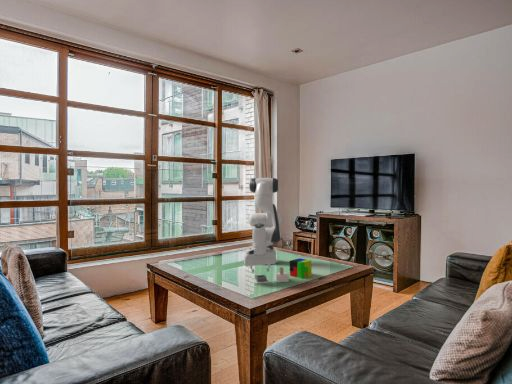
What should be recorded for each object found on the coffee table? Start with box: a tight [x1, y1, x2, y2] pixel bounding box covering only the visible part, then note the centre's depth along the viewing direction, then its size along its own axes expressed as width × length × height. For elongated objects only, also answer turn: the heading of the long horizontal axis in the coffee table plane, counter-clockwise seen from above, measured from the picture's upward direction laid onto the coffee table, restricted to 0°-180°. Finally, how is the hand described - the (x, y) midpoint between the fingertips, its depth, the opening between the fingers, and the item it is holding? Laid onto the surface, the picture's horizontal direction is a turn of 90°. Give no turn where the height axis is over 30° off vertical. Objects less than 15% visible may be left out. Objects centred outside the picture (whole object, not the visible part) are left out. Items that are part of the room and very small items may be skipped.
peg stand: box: [274, 266, 290, 283], centre depth 209 cm, size 7×7×8 cm
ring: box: [254, 274, 268, 282], centre depth 208 cm, size 6×6×2 cm
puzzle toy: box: [289, 257, 312, 279], centre depth 219 cm, size 10×10×10 cm
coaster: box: [251, 277, 271, 285], centre depth 208 cm, size 10×10×1 cm
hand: (260, 271), depth 209 cm, fingers open, 8 cm apart
